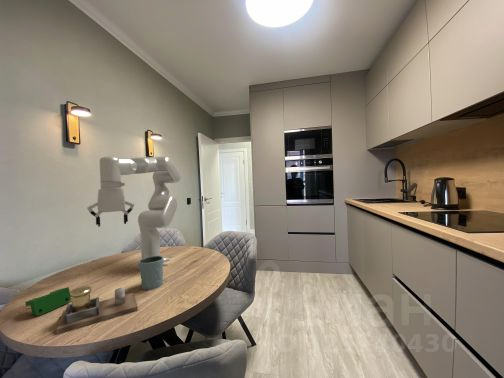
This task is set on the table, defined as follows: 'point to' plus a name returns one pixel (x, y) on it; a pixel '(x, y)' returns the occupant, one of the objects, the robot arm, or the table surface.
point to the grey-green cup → (151, 272)
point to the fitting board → (98, 311)
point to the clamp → (49, 301)
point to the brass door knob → (80, 299)
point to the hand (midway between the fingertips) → (112, 224)
